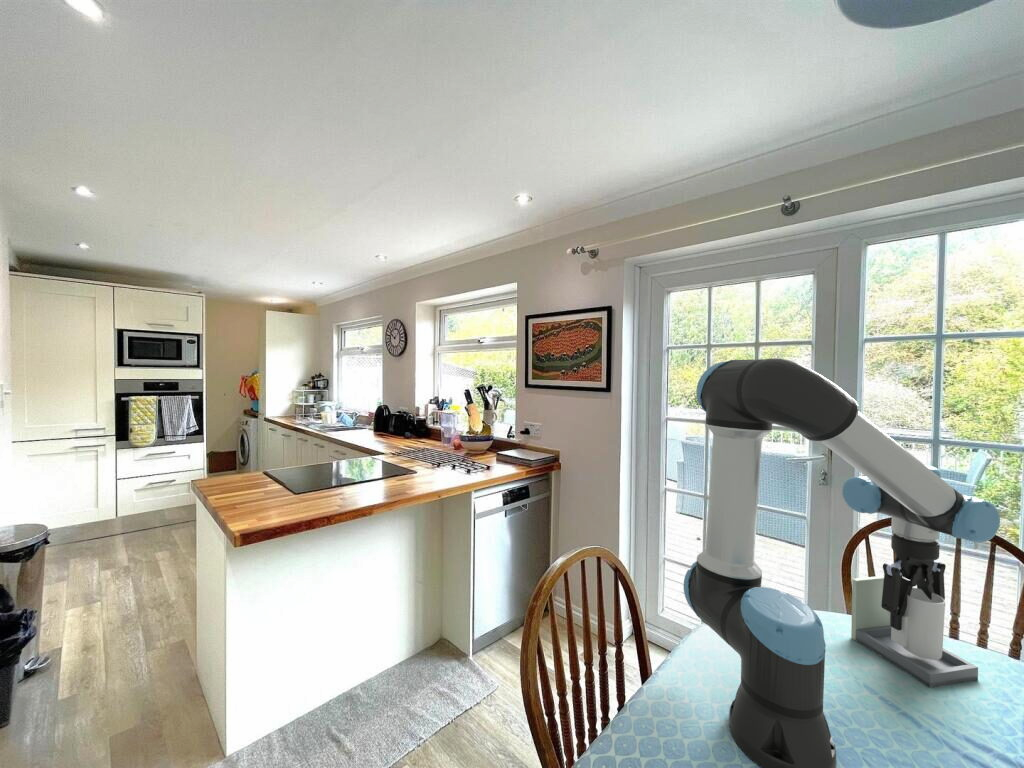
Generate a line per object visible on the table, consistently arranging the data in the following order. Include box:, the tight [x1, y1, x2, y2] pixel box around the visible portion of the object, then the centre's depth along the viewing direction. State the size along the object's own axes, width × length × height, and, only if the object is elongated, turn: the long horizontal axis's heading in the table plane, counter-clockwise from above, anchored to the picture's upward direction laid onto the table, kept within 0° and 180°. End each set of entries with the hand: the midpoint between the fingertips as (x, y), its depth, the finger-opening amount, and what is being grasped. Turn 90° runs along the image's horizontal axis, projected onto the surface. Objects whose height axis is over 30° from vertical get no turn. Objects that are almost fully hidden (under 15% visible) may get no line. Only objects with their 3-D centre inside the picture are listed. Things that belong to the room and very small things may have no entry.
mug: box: [887, 587, 946, 660], centre depth 91 cm, size 10×7×12 cm, turn 16°
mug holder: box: [850, 575, 979, 689], centre depth 92 cm, size 12×16×14 cm
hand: (912, 641), depth 92 cm, fingers closed on mug, 6 cm apart
